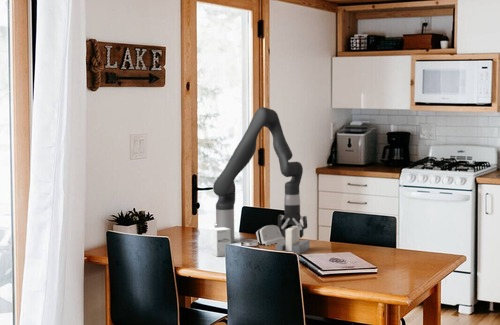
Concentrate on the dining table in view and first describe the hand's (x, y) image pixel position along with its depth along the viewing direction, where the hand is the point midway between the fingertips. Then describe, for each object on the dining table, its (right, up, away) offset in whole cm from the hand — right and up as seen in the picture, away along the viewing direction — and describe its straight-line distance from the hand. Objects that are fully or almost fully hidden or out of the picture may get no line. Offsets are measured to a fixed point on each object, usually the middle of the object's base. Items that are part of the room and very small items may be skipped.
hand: (292, 237), depth 384 cm
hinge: (-10, -5, +22) cm, 25 cm away
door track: (0, -7, +1) cm, 7 cm away
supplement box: (-34, -8, -7) cm, 36 cm away
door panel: (0, -6, +1) cm, 6 cm away
